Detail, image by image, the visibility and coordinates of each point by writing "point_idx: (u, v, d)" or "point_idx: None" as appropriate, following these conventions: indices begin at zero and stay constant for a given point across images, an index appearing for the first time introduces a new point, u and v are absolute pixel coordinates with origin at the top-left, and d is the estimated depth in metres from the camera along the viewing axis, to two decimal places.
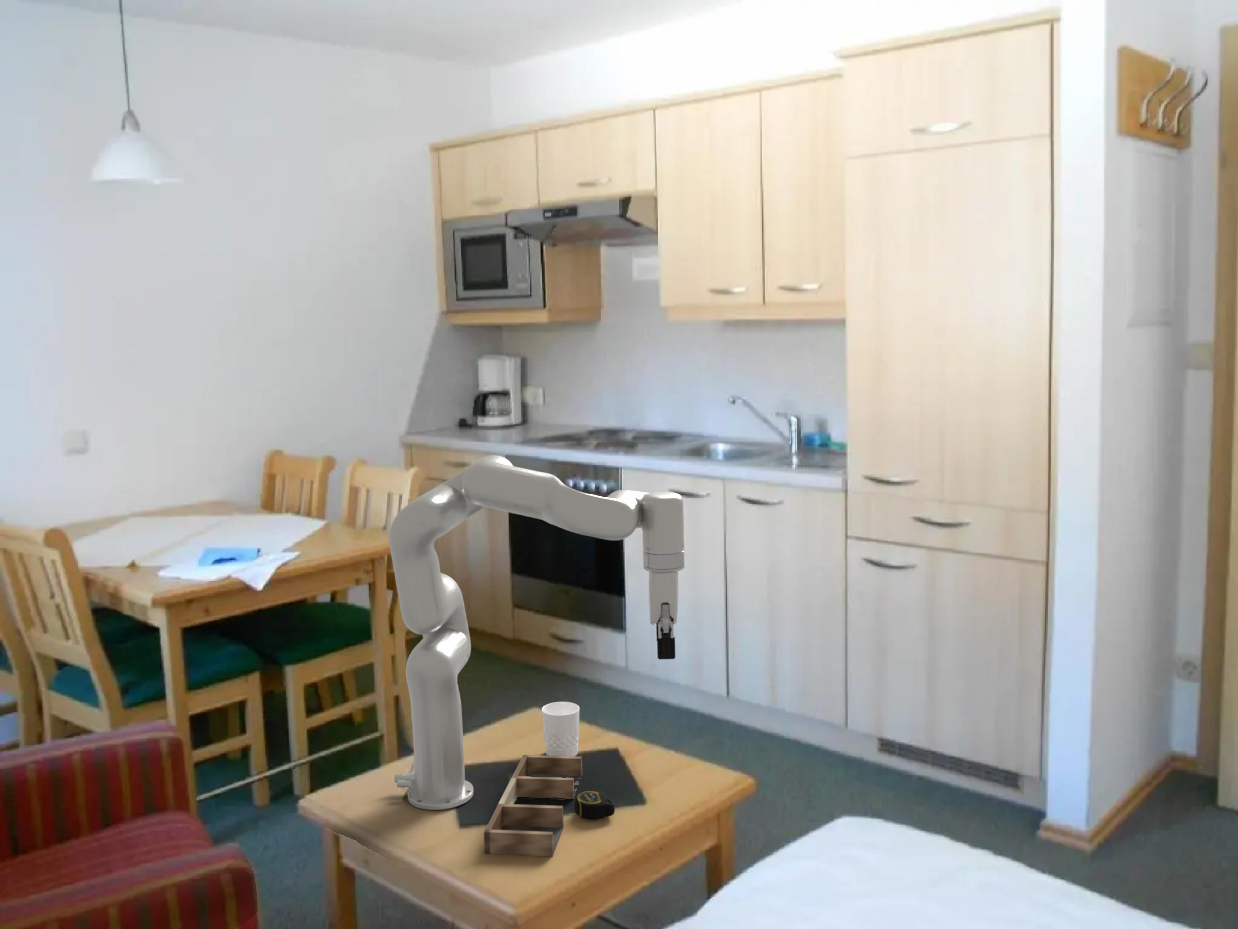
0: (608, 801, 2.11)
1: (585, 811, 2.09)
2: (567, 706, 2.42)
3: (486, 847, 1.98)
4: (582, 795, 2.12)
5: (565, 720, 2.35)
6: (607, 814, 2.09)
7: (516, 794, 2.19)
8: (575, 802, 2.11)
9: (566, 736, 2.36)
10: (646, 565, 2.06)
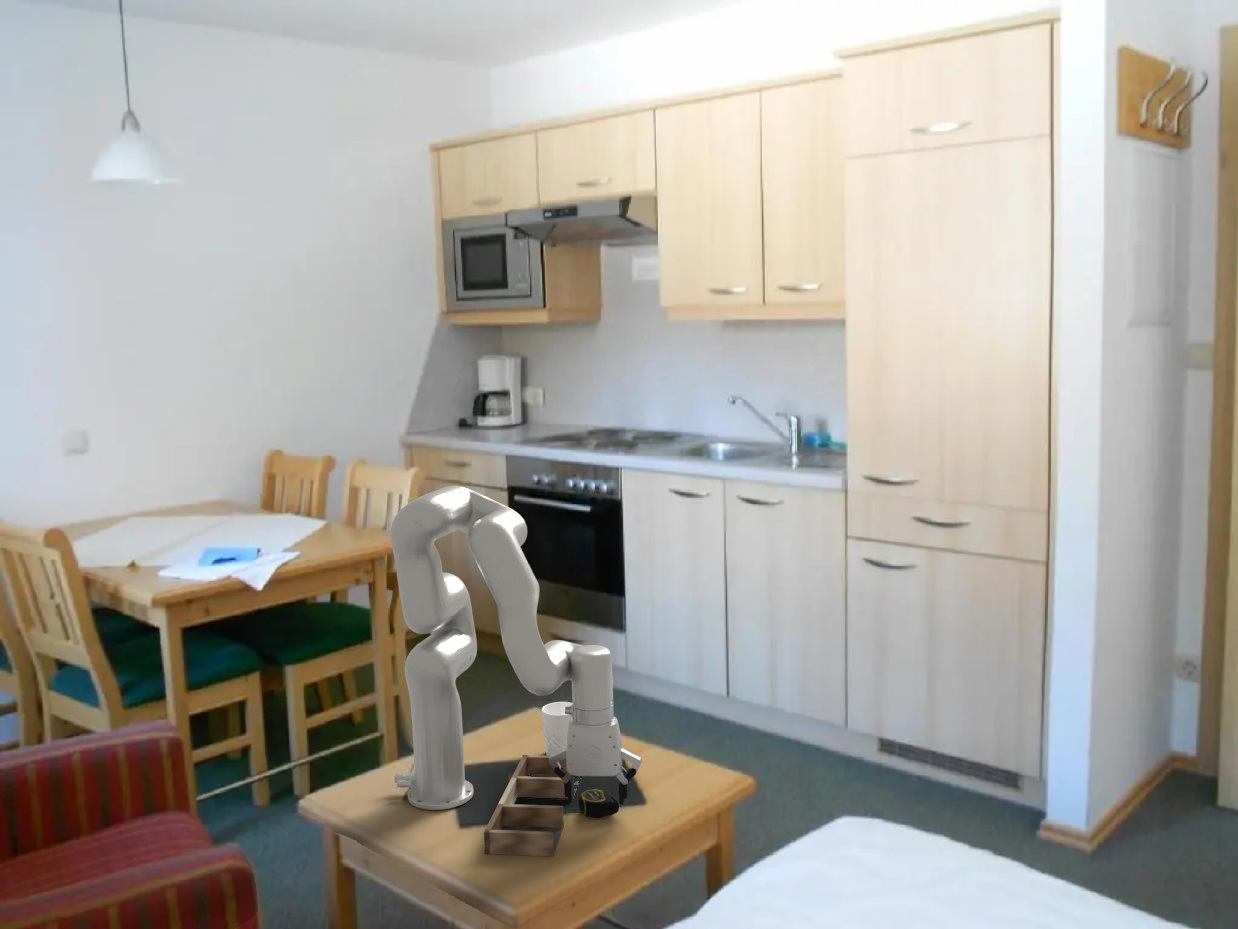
0: (612, 799, 2.11)
1: (589, 809, 2.09)
2: (567, 706, 2.42)
3: (486, 847, 1.98)
4: (586, 793, 2.13)
5: (565, 720, 2.35)
6: (612, 812, 2.10)
7: (516, 794, 2.19)
8: (579, 800, 2.11)
9: (566, 736, 2.36)
10: (601, 722, 2.06)
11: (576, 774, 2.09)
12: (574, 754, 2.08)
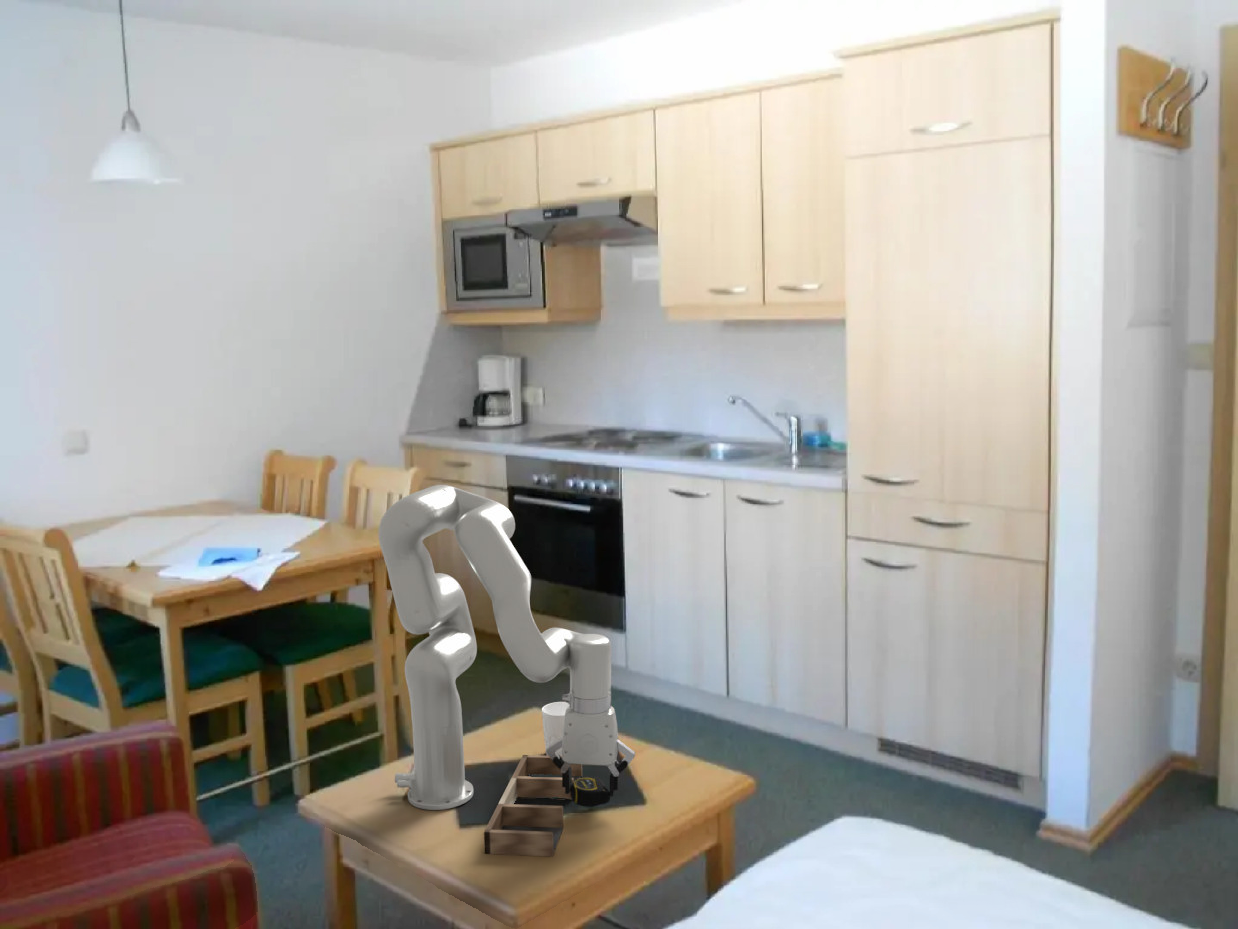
0: (604, 788, 2.11)
1: (581, 797, 2.09)
2: (567, 706, 2.42)
3: (486, 847, 1.98)
4: (579, 781, 2.13)
5: None
6: (602, 801, 2.10)
7: (516, 794, 2.19)
8: (571, 788, 2.12)
9: None
10: (598, 711, 2.06)
11: (571, 762, 2.09)
12: (569, 742, 2.08)
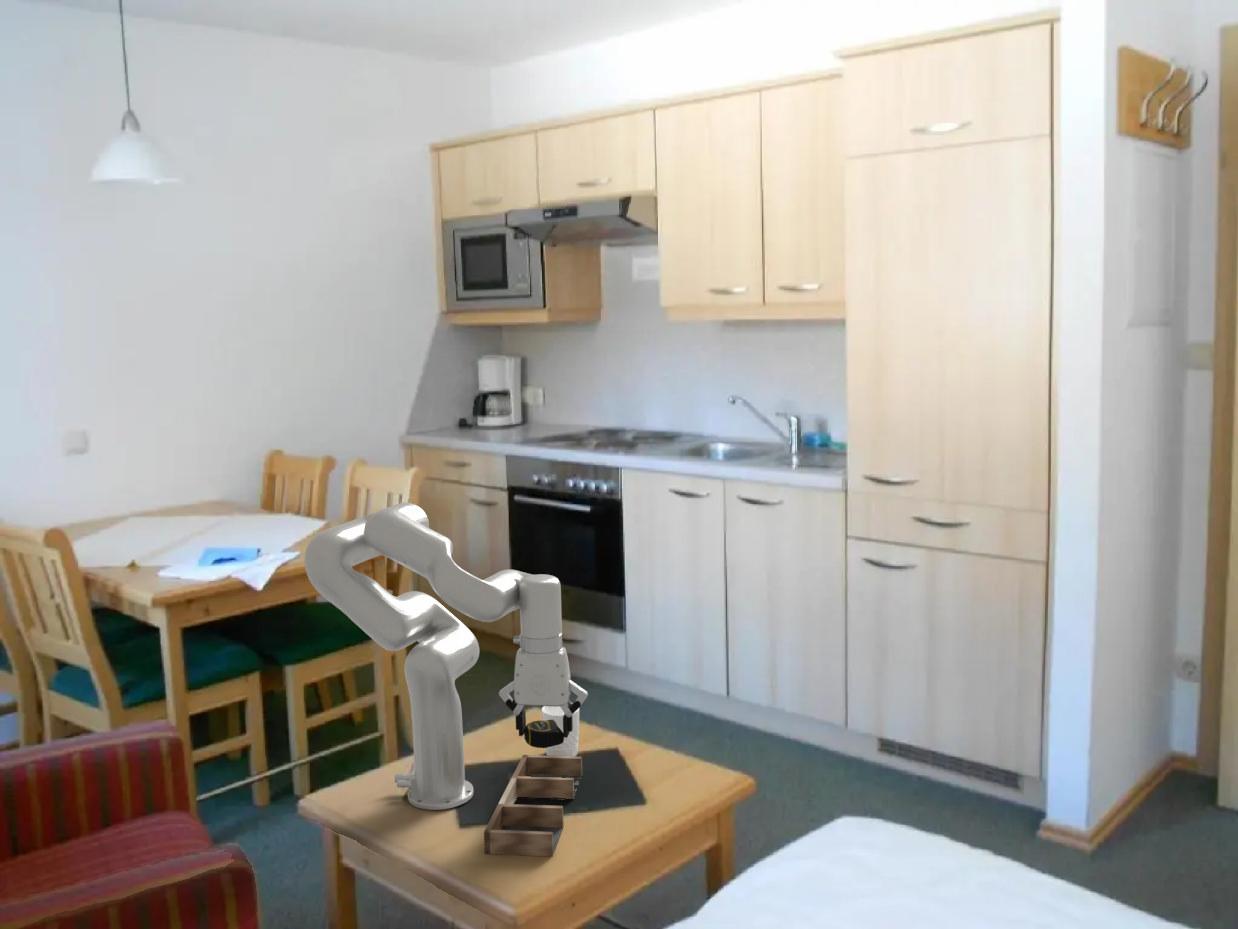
0: (558, 730, 2.10)
1: (534, 738, 2.09)
2: None
3: (486, 847, 1.98)
4: (533, 723, 2.12)
5: None
6: (556, 742, 2.09)
7: (516, 794, 2.19)
8: (525, 730, 2.11)
9: None
10: (549, 651, 2.05)
11: (523, 703, 2.08)
12: (521, 683, 2.07)
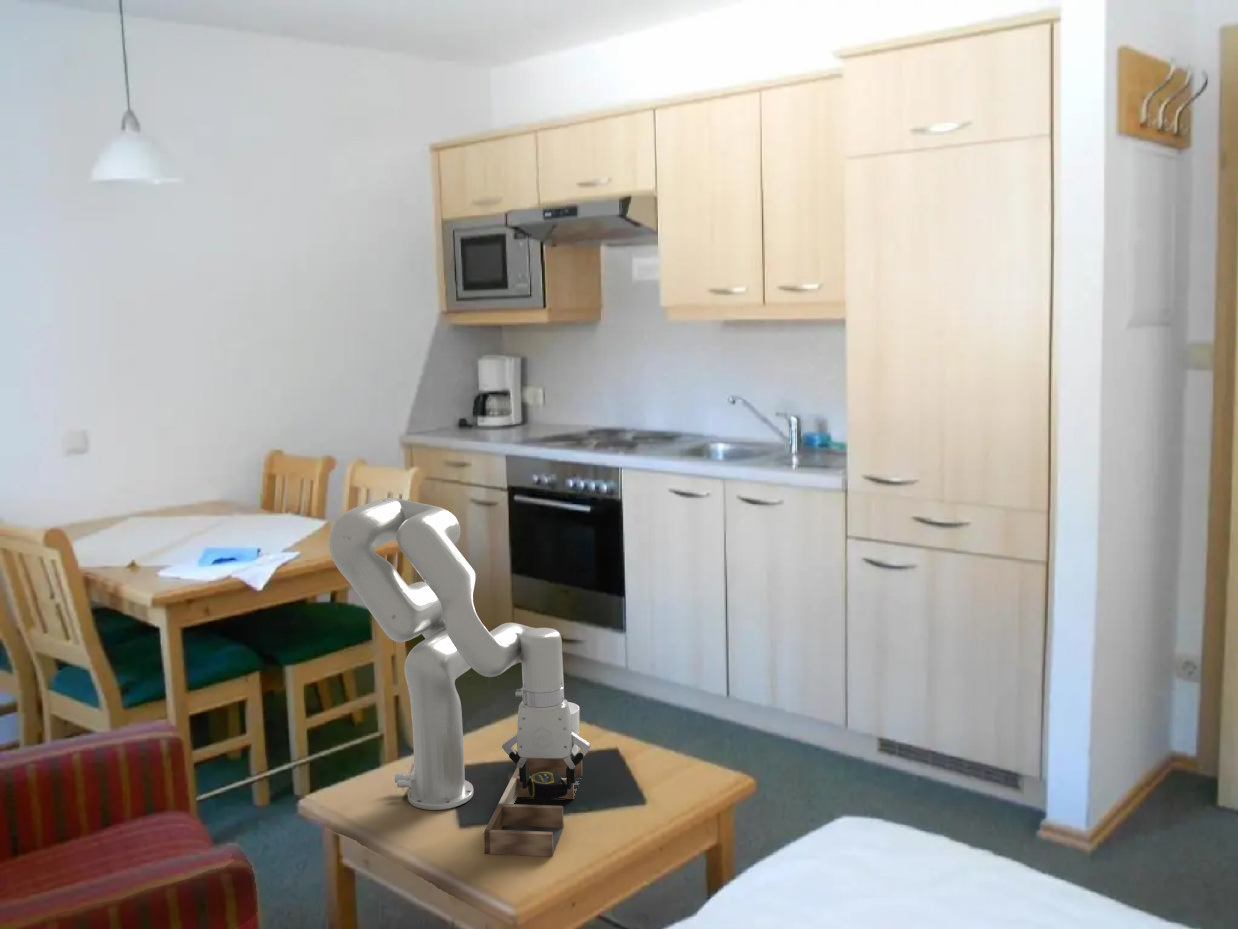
0: (561, 781, 2.12)
1: (538, 791, 2.10)
2: None
3: (486, 847, 1.98)
4: (536, 775, 2.14)
5: None
6: (560, 794, 2.11)
7: (516, 794, 2.19)
8: (529, 782, 2.12)
9: None
10: (551, 704, 2.07)
11: (527, 756, 2.09)
12: (524, 736, 2.09)
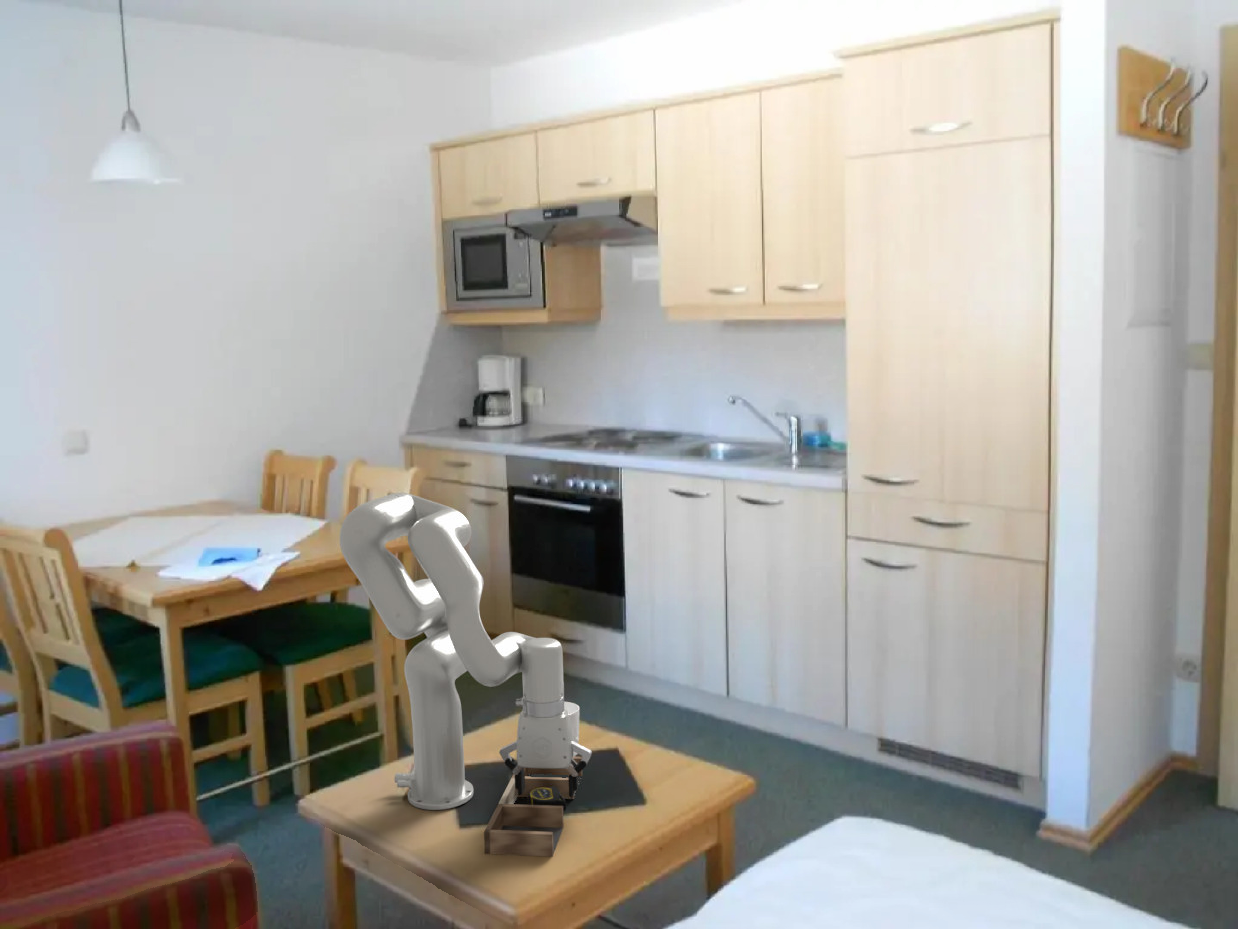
0: (560, 797, 2.13)
1: None
2: (567, 706, 2.42)
3: (486, 847, 1.98)
4: (535, 791, 2.15)
5: None
6: None
7: (516, 794, 2.19)
8: (528, 798, 2.13)
9: None
10: (551, 714, 2.07)
11: (526, 766, 2.10)
12: (524, 746, 2.09)
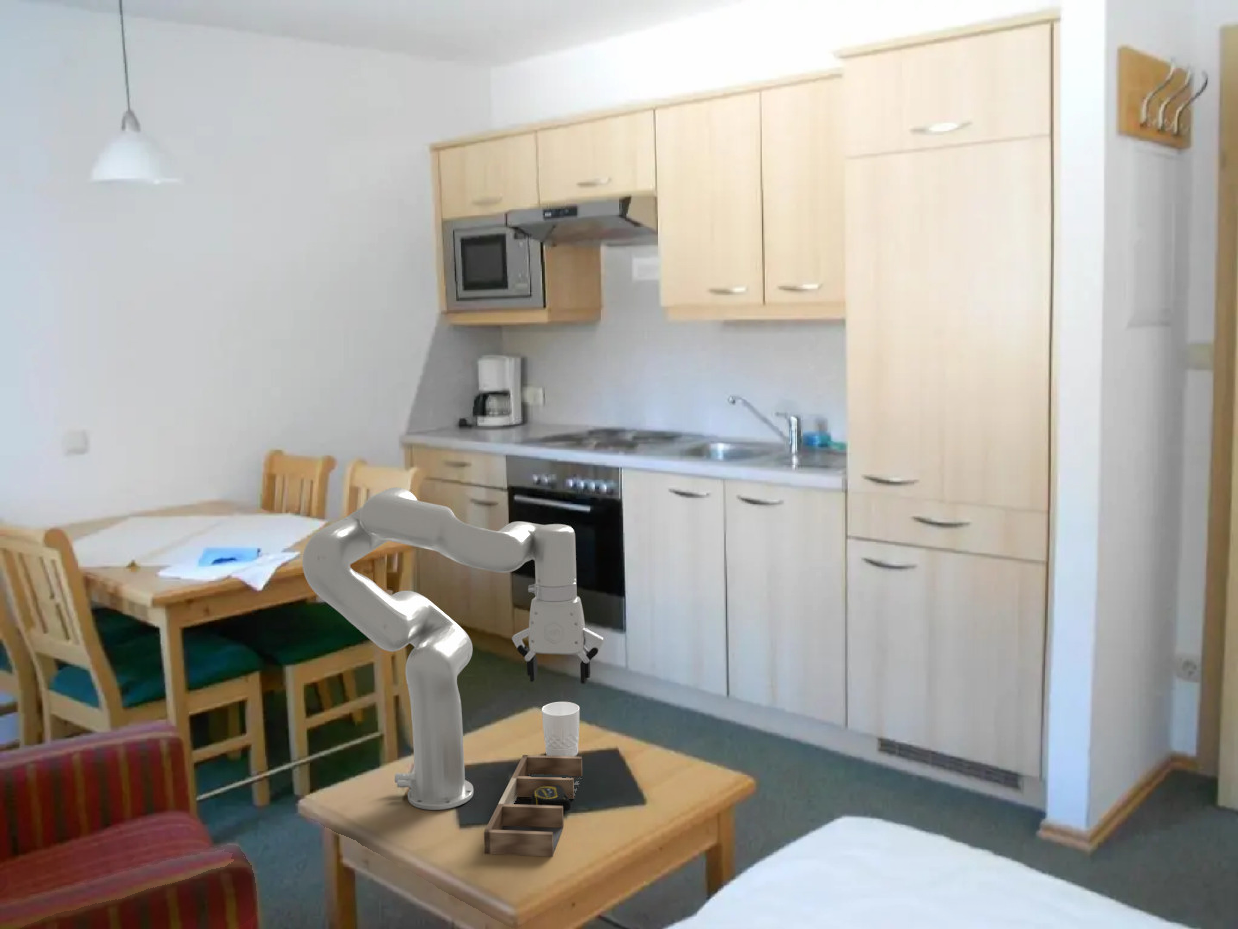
0: (564, 796, 2.13)
1: None
2: (567, 706, 2.42)
3: (486, 847, 1.98)
4: (539, 790, 2.15)
5: (565, 720, 2.35)
6: (563, 809, 2.12)
7: (516, 794, 2.19)
8: (532, 797, 2.13)
9: (566, 736, 2.36)
10: (563, 599, 2.07)
11: (538, 651, 2.10)
12: (536, 631, 2.10)
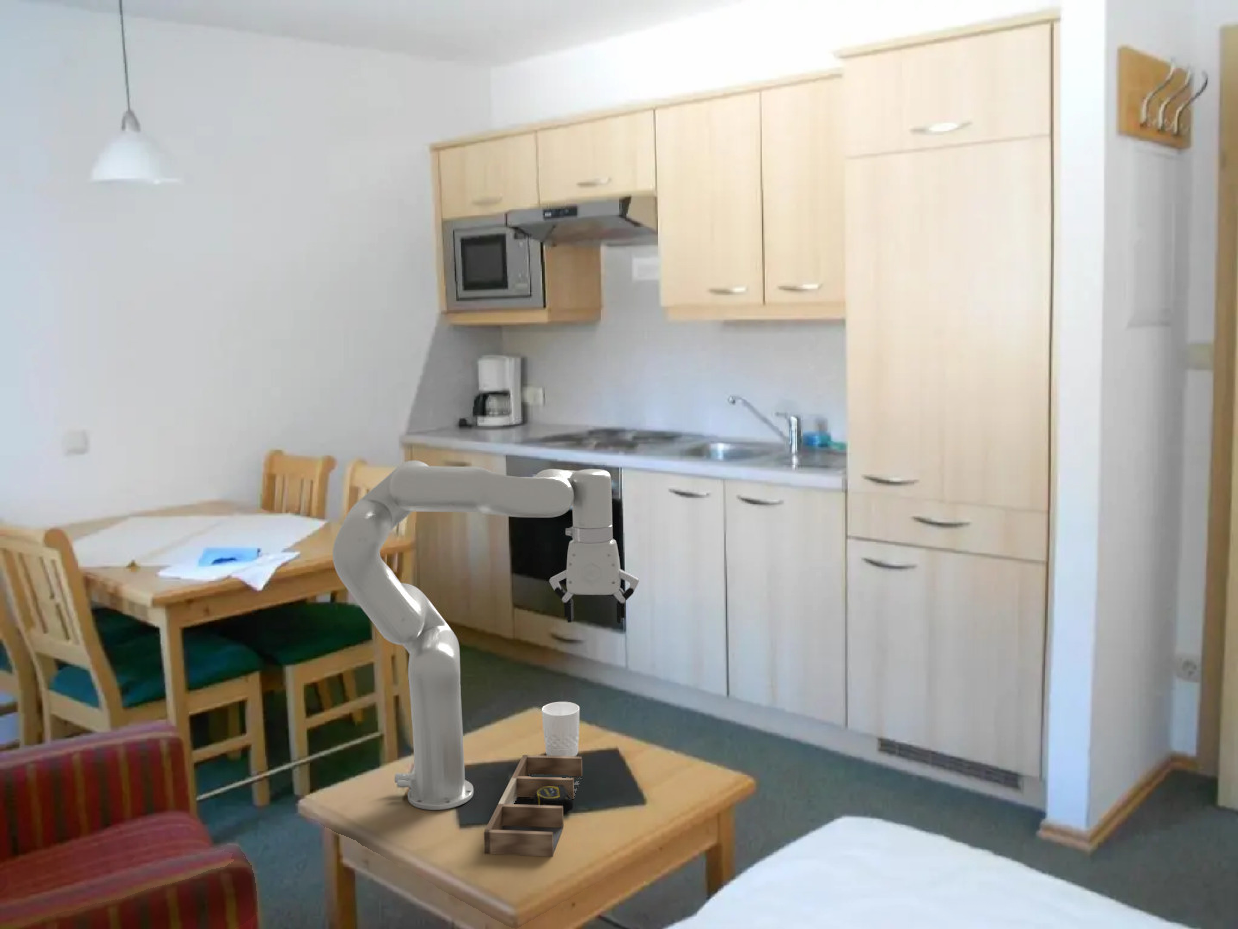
0: (567, 796, 2.13)
1: None
2: (567, 706, 2.42)
3: (486, 847, 1.98)
4: (542, 790, 2.15)
5: (565, 720, 2.35)
6: (565, 809, 2.12)
7: (516, 794, 2.19)
8: (534, 797, 2.13)
9: (566, 736, 2.36)
10: (600, 540, 2.14)
11: (576, 592, 2.17)
12: (574, 572, 2.16)
